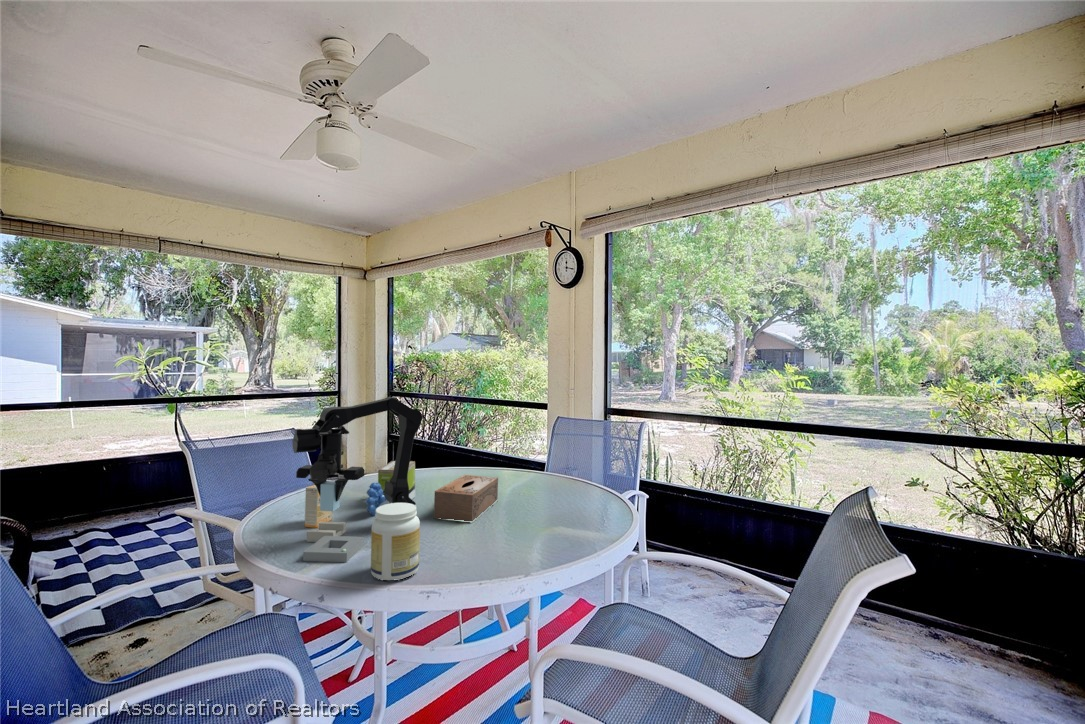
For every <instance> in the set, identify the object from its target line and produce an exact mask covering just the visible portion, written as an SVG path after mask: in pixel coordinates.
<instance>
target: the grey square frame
mask: <svg viewBox="0 0 1085 724" xmlns="http://www.w3.org/2000/svg"><path fill="white" fill-rule="evenodd" d="M346 532H347V522H345V521H329V522H320V523H319V527H318V529H309V530H307V531H306V542H309V543H313V542H314V543H316V542H317V541H318V540H319V539H321V538H322V537H323V536H342V535H344V534H345V533H346Z"/></svg>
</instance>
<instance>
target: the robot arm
mask: <svg viewBox="0 0 1085 724" xmlns="http://www.w3.org/2000/svg"><path fill="white" fill-rule="evenodd" d="M388 411H389V412H390V413H392V414H393V415H394V416H396V417H397V418H398V419H397V425H398V429H399V437H398V444H397V448H396V449H397V450H396V455H395V460H394V461H395V466H394V472H393V476H392V478H391V479H390V481H385V489H384V491H383V493H384V494H385V498H386V500H387V501H389V503H410V504H414V505H415V506H417V504H416V502H415V501H414V500H413V499H410V498H409V485H408V481H407V475H408V469H409V463H410V461H411V457H412V451H413V444H414V440H415V439H414V438H415V436H416V434H417V432H418V430H419V429H420V428H421V427H420V426H421V424H422V421H423V413H422V412H421V411H420V410H419V409H416V408H412V407H410V406H408V405H406V404H405V403H403V402H401V401H399V400H398V399H397V398H396V397H390V396H386V397H385V398H382V399H377V400H373V401H369V402H364V403H360V404H359V403H358V404H355V405H350V406H331V407H330V406H329V407H326V408H325V407H324V409H322V411H320V412H321V413H320V415H319V419H317V420H316V422H315V424H314V425H313V426H312V427H311V428H304V429H303V428H295V429H294V434H293V439H292V443H291V444H292V450H293V453H294V454H296V453H308V452H316V451H317V450H318V449H321V450H320V453H319V454H318V456H317V457H318V458H317V461H315V462H314V463H313V464H306V465H303V466H300V467H298V468H297V470H296V473H295V474H296V475H295V478H296V479H307V478H308V477H309V478H308V481H309V482H311V483H313V485H316V487H317V489H318V492H319V495H320V492H321V484H322V483H324V482H326V481H328V478H329V477H330V476H337V477H338V478H337V479H336V480H334V481H335V483H336V496H335V498H336V501H338V500H339V498H341V496H342V494H343V492H344V489H345V487H346V485H347V483H348V482H349V481H357V480H359V479H361V478H363V477H364V476H365V469H364V467H363V466H350V467H348V468H346V469H343V468H344V464H343V463H342V456H343V455H344V450H342V448H343V447H342V443H343V442H342V440H343V435H349V434H350V431H349V430H348V429H346V427H345V425H347V424H349V423H351V422H352V421H354V420H356V419H360V418H363V417H369V416H371V415H376V414H380V413H383V412H388Z"/></svg>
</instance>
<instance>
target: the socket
mask: <svg viewBox="0 0 1085 724" xmlns="http://www.w3.org/2000/svg"><path fill="white" fill-rule="evenodd" d="M364 546H365V537H364V536H350V535H349V536H348V535H347V536H345V535H343V536H342V535H341V536H323V537H322V538H321V539H319V540H318V541H317V542H314V543H313V544H312V545H310V546H309V547H307V549H305V550H304V551H303V554H302V555H303V557H302V558H303V559H302V560H303V562H320V563H321V562H323V563H348V562H349V561H350V560H349V559H350V558H351V557H352V556H353V557H354V556H355V555H356V554H357V553H358V552H359V551H360V550H361V549H362V548H363V547H364ZM353 557H352V558H353ZM352 558H351V559H352ZM348 560H349V561H348ZM347 561H348V562H347Z"/></svg>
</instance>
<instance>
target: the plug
mask: <svg viewBox="0 0 1085 724" xmlns="http://www.w3.org/2000/svg"><path fill="white" fill-rule="evenodd" d="M335 496H336V483H335V480H327V481H326V482H324V483H322V484H321V492H320V511H332V512H334V511H336V510H337V509H339V508H340V500H341V499H340V498H341V497H340V498H339V500H338V501H336V498H335Z"/></svg>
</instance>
